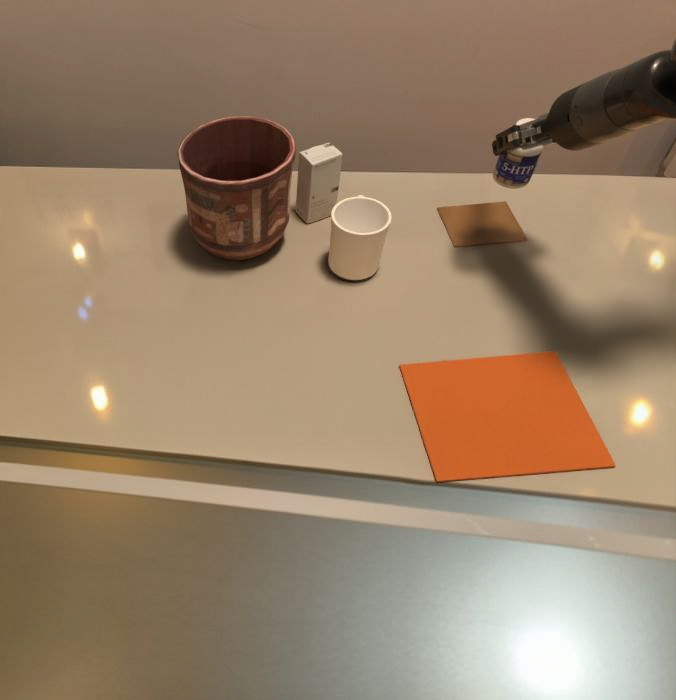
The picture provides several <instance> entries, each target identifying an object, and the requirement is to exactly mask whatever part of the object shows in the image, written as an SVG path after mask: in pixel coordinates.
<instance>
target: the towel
mask: <svg viewBox="0 0 676 700" xmlns="http://www.w3.org/2000/svg"><path fill="white" fill-rule="evenodd" d="M399 366H400V367H399V370H400V373H401V377H402V379H403V383H404V382H405V383H404V386H405V385H406V386H405V389H406V388H407V389H406V392H407V391H408V392H407V395H408V394H409V395H408V398H409V397H410V398H409V401H410V400H411V401H410V404H411V403H412V405H411V407H413V408H412V411H413V410H414V411H413V414H414V413H415V414H414V417H415V416H416V417H415V420H416V423H417V422H418V423H417V426H419V427H418V429H420V430H419V433H420V432H421V433H420V436H421V439H422V442H423V445H424V448H425V452H426V456H427V458H428V461H429V465H430V467H431V470H432V469H433V471H432V473H433V472H434V474H433V476H434V475H435V477H434V479H436V480H435V482H436V483H445V482H446V481H447V482H458V481H457V480H459V481H468V480H469V479H471V480H481V479H480V478H482V479H492V478H505V477H515V476H517V477H518V476H529V475H540V474H550V473H551V474H552V473H561V472H572V471H573V472H574V471H575V472H576V471H585V470H586V471H587V470H598V469H611V468H615V467H617V465H616V463H615V461H614V459H613V457H612V456H611V453H610V451H609V450H608V448H607V446H606V444H605V442H604V441H603V438H602V436H601V434H600V432H599V430H598V429H597V427H596V425H595V423H594V421H593V419H592V418H591V415H590V414H589V412H588V410H587V408H586V406H585V404H584V402H583V401H582V399H581V397H580V395H579V393H578V391H577V390H576V387H575V386H574V383H573V382H572V379H571V378H570V376H569V374H568V372H567V370H566V369H565V367H564V365H563V363H562V361H561V359H560V357H559V356H558V352H557V351H554V350H552V351H542V352H541V351H540V352H529V353H519V354H508V355H497V356H496V355H495V356H485V357H475V358H474V357H473V358H462V359H451V360H450V359H449V360H440V361H427V362H418V363H417V362H416V363H406V364H405V363H404V364H399Z"/></svg>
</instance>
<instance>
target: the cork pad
mask: <svg viewBox="0 0 676 700" xmlns="http://www.w3.org/2000/svg"><path fill="white" fill-rule="evenodd" d="M436 210H437V213H438V214H439V217H440V219H441V221H442V223H443V225H444V228H445V230H446V232H447V234H448V236H449V237H450V241H451V242H452V245H453V247H454V248H462V247H474V246H483V245H494V244H496V245H497V244H507V243H517V242H527V241H528V238H527V236H526V234H525V232H524V230H523V228H522V227H521V225H520V223H519V222H518V219H517V218H516V217H515V214H514V213H513V211H512V210H511V208H510V206H509V205H508V203H507V201H506V200H504V201H495V202H494V201H493V202H483V203H482V202H481V203H471V204H461V205H450V206H438V207H436Z"/></svg>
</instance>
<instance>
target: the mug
mask: <svg viewBox="0 0 676 700" xmlns="http://www.w3.org/2000/svg"><path fill="white" fill-rule="evenodd" d="M391 212H392V211H391V210H390V209H389V207H388V206H387V205H386V204H384V202H382V201H379V200H377V199H375V198H371V197H368V196H367V197H366V196H365V194H364V195H363V194H358V195H357V196H352V197H347V198H345V199H341V200H340V201H338V202H337V204H336V205H335V206H334V208H333V209H332V213H331V216H330V237H329V238H330V239H329V249H328V260H327V263H328V268H329V270H330V272H331V274H333V275H334V276H335V277H337V278H338V279H340V280H342V281H345V282H351V283H360V282H365V281H367V280H369V279H371V278H372V277H374V276H375V275H376V274H377V272H378V270H379V266H380V262H381V258H382V254H383V250H384V246H385V242H386V237H387V234H388V232H389V228H390V226H391V223H392V213H391Z"/></svg>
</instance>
